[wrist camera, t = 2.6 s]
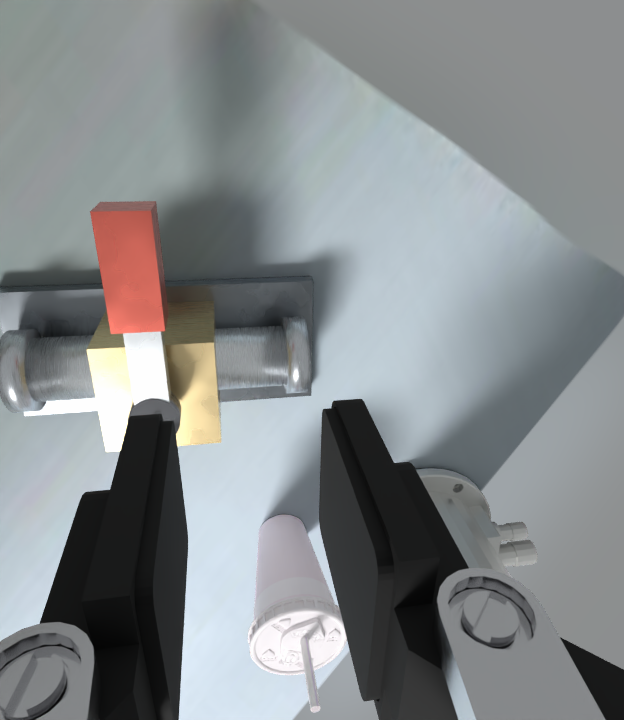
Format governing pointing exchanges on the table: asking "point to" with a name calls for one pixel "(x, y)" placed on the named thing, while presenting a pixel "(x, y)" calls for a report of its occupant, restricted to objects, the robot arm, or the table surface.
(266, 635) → the smoothie
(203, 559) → the table surface
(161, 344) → the valve lever
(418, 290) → the table surface
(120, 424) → the valve
